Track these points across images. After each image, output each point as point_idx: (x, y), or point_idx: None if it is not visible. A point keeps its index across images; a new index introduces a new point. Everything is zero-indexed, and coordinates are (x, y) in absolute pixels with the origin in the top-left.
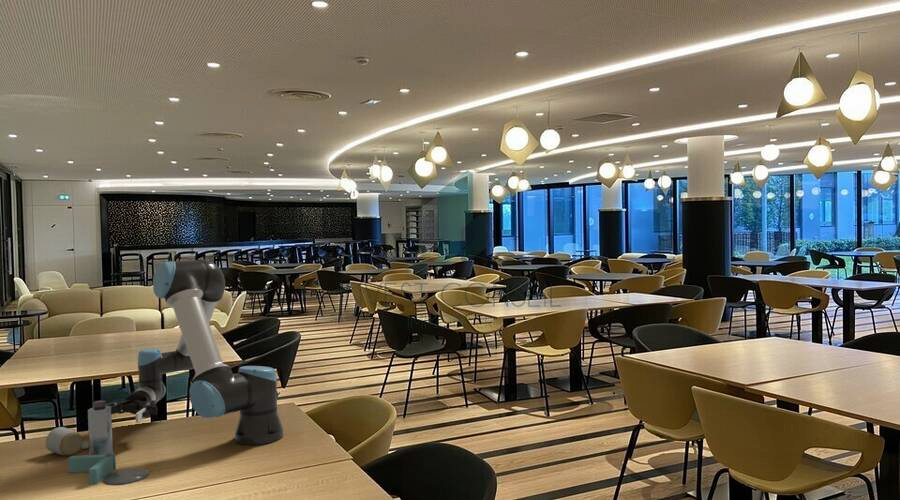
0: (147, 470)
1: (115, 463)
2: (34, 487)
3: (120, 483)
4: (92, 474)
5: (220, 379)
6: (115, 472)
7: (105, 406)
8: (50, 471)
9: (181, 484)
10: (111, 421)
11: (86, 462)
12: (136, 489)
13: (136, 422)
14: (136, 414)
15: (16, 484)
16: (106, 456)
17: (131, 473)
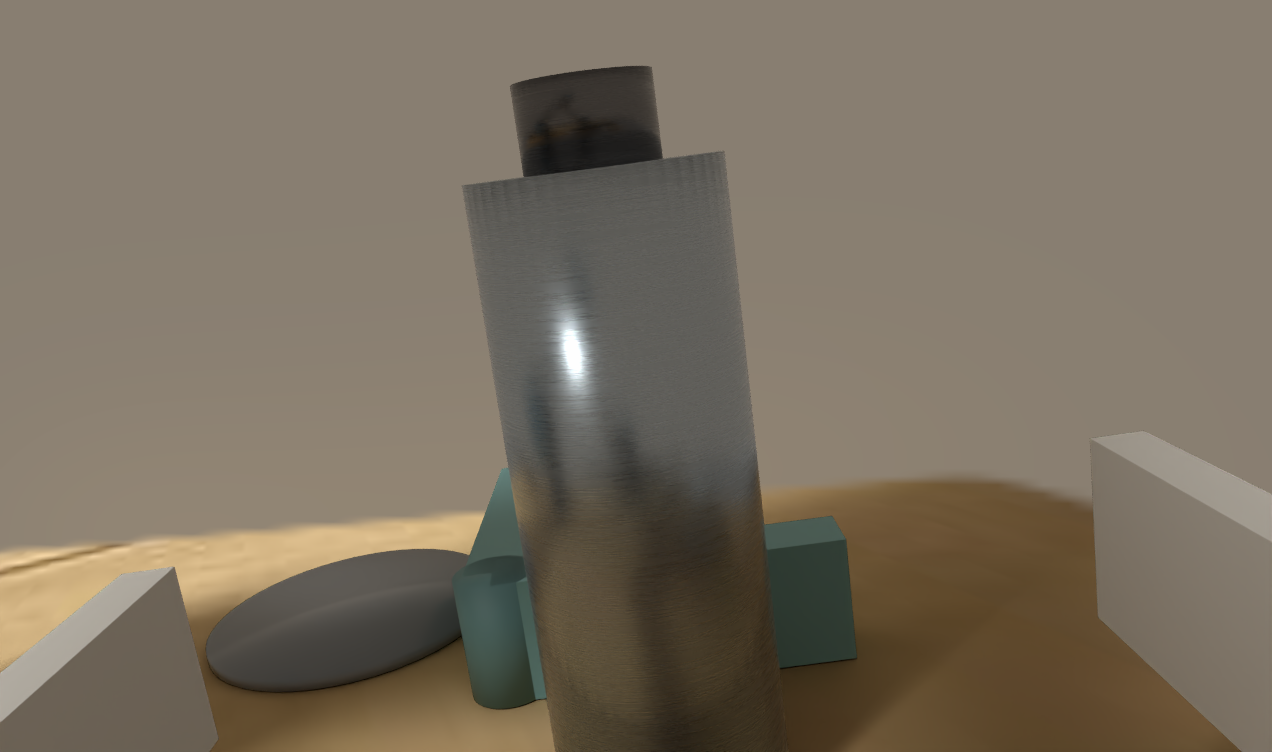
0: (210, 661)
1: (465, 651)
2: (878, 508)
3: (374, 555)
4: None
5: None
6: (443, 628)
7: (520, 154)
8: (1037, 633)
9: (45, 588)
10: (492, 366)
11: None
12: (283, 543)
13: (206, 739)
14: (160, 581)
15: (1048, 513)
16: (516, 558)
17: (323, 625)
